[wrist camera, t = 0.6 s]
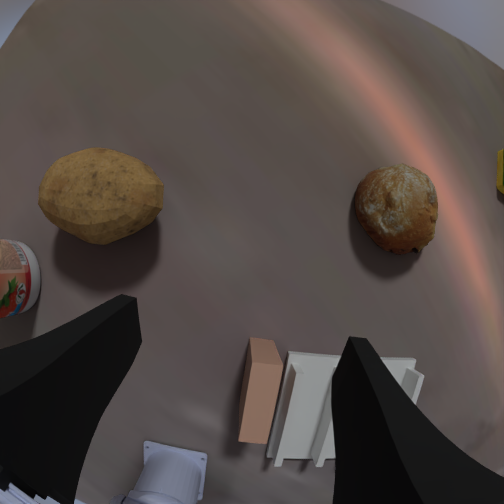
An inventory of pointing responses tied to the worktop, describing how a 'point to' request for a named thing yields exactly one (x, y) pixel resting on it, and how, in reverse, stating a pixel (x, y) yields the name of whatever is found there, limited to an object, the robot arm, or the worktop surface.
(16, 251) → the fruit juice
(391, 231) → the bread roll
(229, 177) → the worktop surface
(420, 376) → the dish rack
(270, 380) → the tile
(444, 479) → the robot arm
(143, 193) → the potato
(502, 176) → the dish sponge
